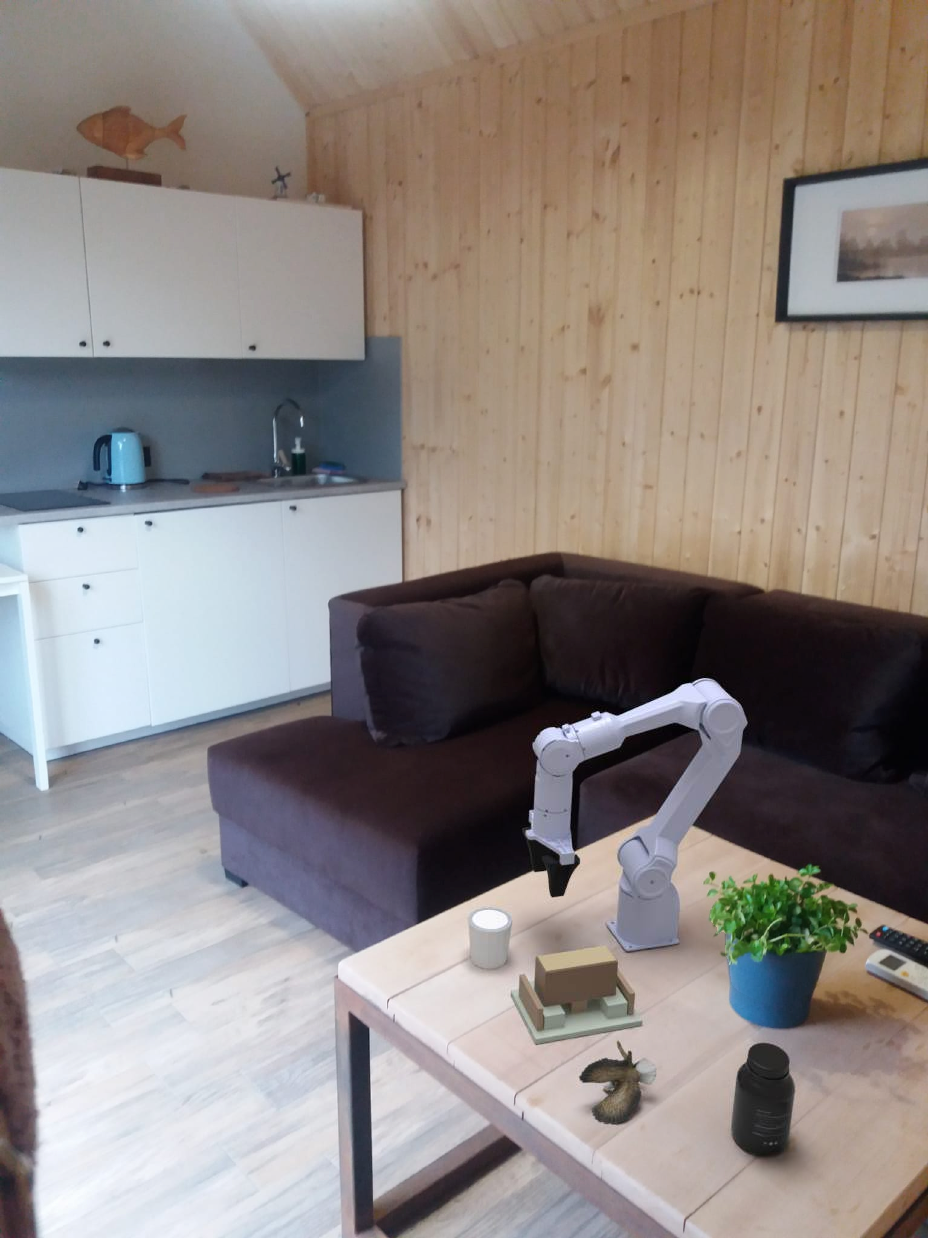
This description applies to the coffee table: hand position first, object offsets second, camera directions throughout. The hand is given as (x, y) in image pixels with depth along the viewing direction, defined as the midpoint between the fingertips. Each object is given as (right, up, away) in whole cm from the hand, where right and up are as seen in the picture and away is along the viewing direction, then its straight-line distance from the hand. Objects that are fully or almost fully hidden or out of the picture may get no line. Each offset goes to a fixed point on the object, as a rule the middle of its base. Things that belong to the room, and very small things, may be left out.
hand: (548, 883), depth 159 cm
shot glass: (-9, -11, -2) cm, 15 cm away
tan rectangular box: (+3, -12, -15) cm, 19 cm away
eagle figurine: (+6, -20, -30) cm, 37 cm away
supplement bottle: (+23, -22, -36) cm, 48 cm away
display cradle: (+3, -15, -14) cm, 20 cm away
